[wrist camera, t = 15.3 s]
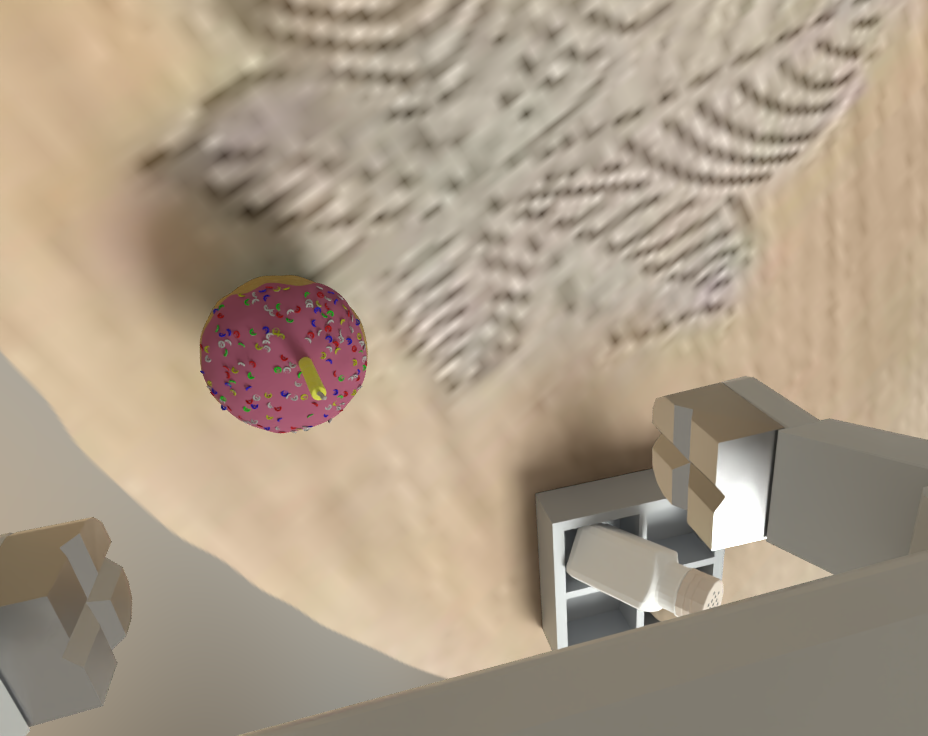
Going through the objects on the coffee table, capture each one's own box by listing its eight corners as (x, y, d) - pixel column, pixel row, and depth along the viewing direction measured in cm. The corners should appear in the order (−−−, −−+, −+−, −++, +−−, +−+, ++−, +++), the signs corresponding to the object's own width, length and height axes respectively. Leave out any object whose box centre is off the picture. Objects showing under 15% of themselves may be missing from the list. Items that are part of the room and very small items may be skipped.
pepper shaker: (603, 520, 48) (732, 573, 42) (587, 573, 48) (714, 633, 41) (577, 517, 45) (711, 573, 39) (560, 573, 45) (692, 638, 38)
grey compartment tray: (702, 457, 49) (731, 484, 46) (693, 591, 54) (717, 623, 51) (535, 493, 47) (552, 523, 43) (542, 629, 52) (558, 665, 49)
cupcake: (309, 227, 36) (310, 287, 25) (389, 346, 40) (420, 442, 29) (177, 308, 36) (124, 402, 25) (269, 419, 40) (257, 541, 29)
